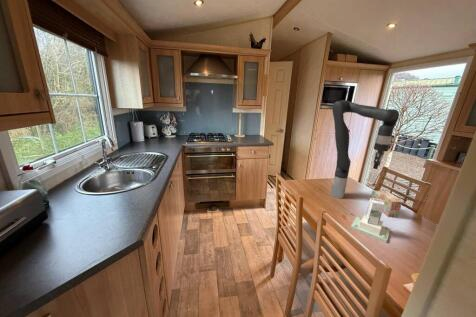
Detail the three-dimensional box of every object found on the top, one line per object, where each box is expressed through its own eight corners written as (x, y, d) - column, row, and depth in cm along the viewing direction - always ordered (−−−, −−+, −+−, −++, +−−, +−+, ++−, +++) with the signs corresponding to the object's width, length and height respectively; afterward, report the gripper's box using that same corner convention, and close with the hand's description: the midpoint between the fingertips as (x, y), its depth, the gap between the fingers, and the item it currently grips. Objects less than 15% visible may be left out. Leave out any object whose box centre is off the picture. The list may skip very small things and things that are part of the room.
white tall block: (375, 220, 116) (381, 199, 112) (378, 225, 111) (384, 204, 107) (365, 218, 118) (370, 197, 114) (367, 223, 113) (372, 202, 109)
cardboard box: (369, 200, 149) (373, 186, 145) (378, 201, 148) (381, 186, 145) (387, 217, 129) (392, 201, 125) (397, 217, 128) (402, 201, 124)
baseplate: (350, 228, 117) (352, 220, 116) (356, 218, 127) (357, 211, 125) (386, 242, 106) (388, 234, 104) (389, 230, 115) (392, 222, 114)
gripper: (377, 139, 125) (371, 163, 130) (373, 143, 116) (367, 168, 121) (391, 141, 120) (385, 165, 125) (388, 145, 111) (381, 171, 116)
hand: (376, 167), depth 123 cm, fingers open, 8 cm apart
